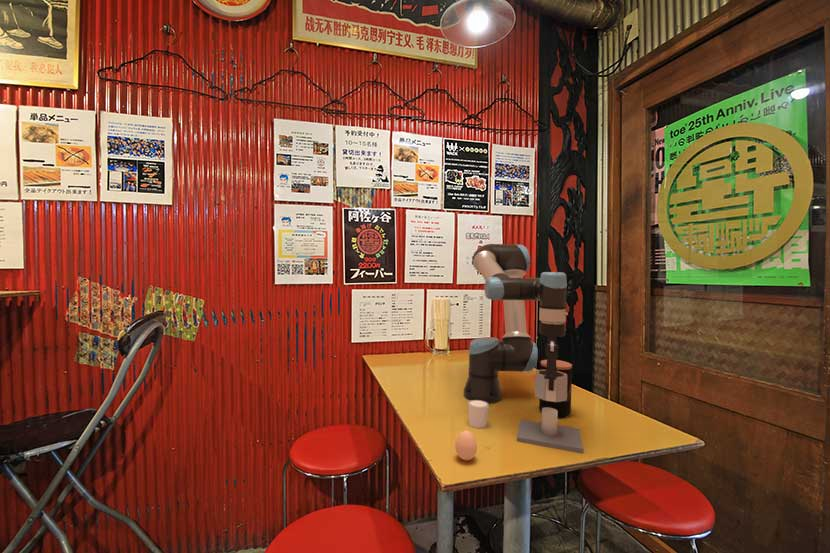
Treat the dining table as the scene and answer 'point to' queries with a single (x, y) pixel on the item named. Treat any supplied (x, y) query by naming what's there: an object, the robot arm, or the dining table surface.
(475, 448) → the egg
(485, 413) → the tan cup
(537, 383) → the mug
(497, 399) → the robot arm
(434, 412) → the dining table surface
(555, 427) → the grey plate with knob
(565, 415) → the coffee jar
